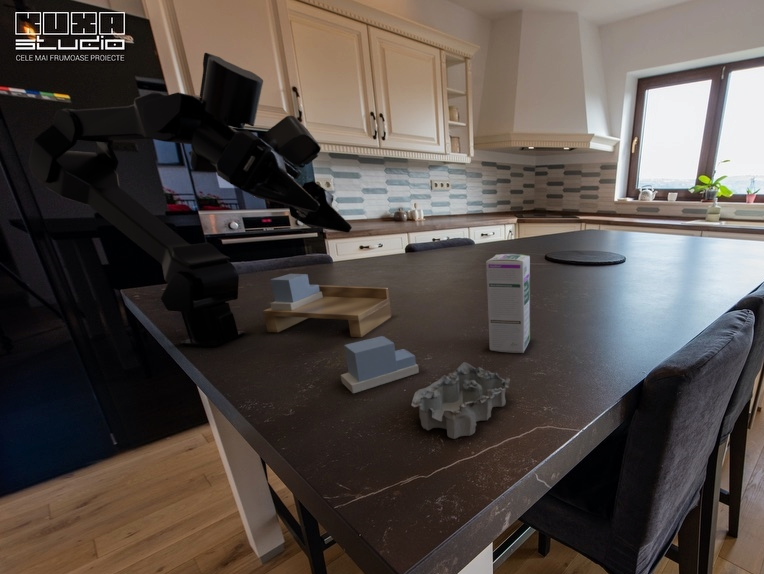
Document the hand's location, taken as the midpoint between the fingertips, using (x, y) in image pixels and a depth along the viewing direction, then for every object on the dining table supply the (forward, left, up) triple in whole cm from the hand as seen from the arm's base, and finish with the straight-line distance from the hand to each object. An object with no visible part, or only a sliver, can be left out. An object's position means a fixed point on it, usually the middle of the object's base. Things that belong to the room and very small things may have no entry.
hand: (335, 219), depth 53 cm
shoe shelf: (-12, +14, -20) cm, 27 cm away
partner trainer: (-18, +13, -16) cm, 28 cm away
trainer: (+7, -7, -20) cm, 22 cm away
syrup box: (+23, +8, -20) cm, 31 cm away
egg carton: (+21, -13, -20) cm, 32 cm away
